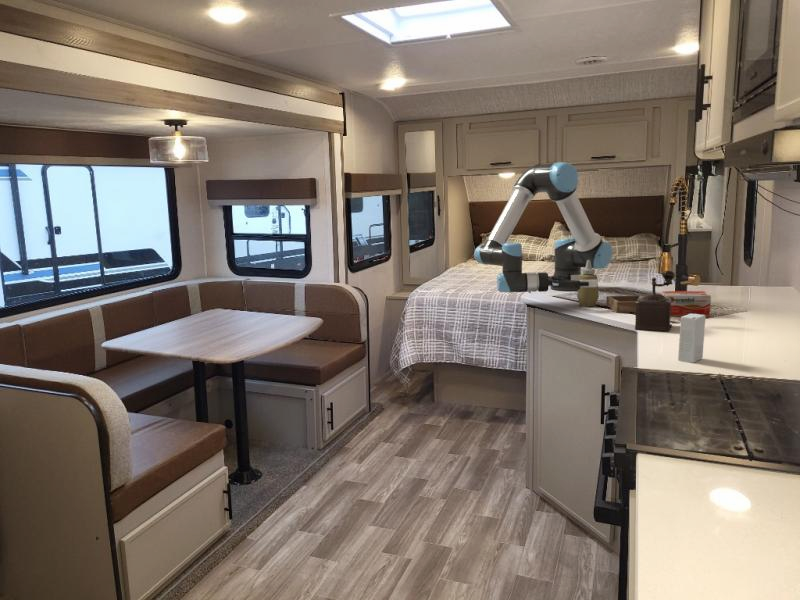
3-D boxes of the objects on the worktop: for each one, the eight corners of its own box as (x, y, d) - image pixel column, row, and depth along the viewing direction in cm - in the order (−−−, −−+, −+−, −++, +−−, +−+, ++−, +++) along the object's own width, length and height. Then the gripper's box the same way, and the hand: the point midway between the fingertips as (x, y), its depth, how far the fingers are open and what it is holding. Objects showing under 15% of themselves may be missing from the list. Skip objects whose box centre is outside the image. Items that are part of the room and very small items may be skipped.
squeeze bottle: (572, 305, 246) (573, 259, 242) (588, 303, 249) (589, 258, 246) (586, 308, 238) (587, 261, 235) (603, 306, 242) (604, 260, 239)
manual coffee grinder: (671, 332, 197) (673, 276, 193) (634, 329, 201) (636, 275, 198) (673, 322, 210) (675, 269, 207) (638, 320, 215) (640, 268, 212)
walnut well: (606, 306, 241) (606, 296, 240) (640, 305, 241) (640, 295, 240) (616, 312, 228) (617, 302, 228) (652, 312, 228) (653, 301, 227)
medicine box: (664, 316, 220) (665, 294, 219) (659, 312, 228) (660, 290, 226) (710, 317, 217) (711, 294, 215) (704, 312, 225) (705, 291, 223)
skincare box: (686, 356, 169) (689, 312, 167) (703, 358, 166) (706, 314, 164) (677, 360, 165) (679, 316, 163) (694, 363, 162) (696, 318, 160)
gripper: (531, 286, 255) (583, 285, 255) (543, 297, 231) (600, 295, 230) (531, 268, 254) (583, 267, 253) (543, 277, 229) (601, 275, 229)
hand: (592, 280), depth 242 cm, fingers open, 13 cm apart
